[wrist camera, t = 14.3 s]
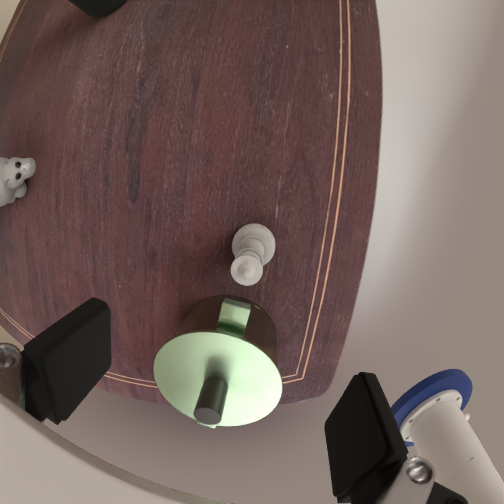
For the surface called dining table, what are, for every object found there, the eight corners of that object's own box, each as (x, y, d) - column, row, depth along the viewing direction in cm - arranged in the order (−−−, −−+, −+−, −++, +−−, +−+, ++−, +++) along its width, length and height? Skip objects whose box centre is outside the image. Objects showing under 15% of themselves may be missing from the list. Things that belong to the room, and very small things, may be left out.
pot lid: (300, 344, 22) (306, 382, 18) (262, 428, 26) (260, 463, 21) (162, 308, 22) (137, 337, 18) (154, 399, 26) (139, 430, 21)
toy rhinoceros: (53, 192, 29) (8, 198, 21) (11, 206, 30) (-27, 214, 22) (50, 142, 27) (7, 139, 19) (8, 164, 28) (-29, 166, 20)
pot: (295, 288, 30) (303, 326, 21) (256, 394, 34) (252, 441, 26) (195, 261, 30) (168, 290, 21) (176, 373, 34) (156, 415, 26)
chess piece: (274, 222, 28) (276, 242, 18) (275, 263, 29) (277, 303, 19) (232, 223, 28) (211, 244, 19) (234, 264, 29) (217, 303, 20)
